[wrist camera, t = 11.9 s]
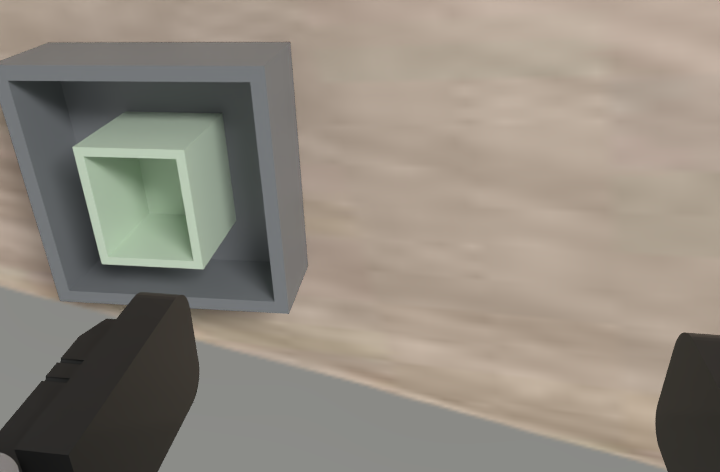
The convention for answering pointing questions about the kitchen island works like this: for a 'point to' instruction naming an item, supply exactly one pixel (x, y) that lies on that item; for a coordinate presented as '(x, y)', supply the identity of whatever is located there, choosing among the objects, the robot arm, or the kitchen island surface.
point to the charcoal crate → (164, 94)
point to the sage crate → (158, 188)
